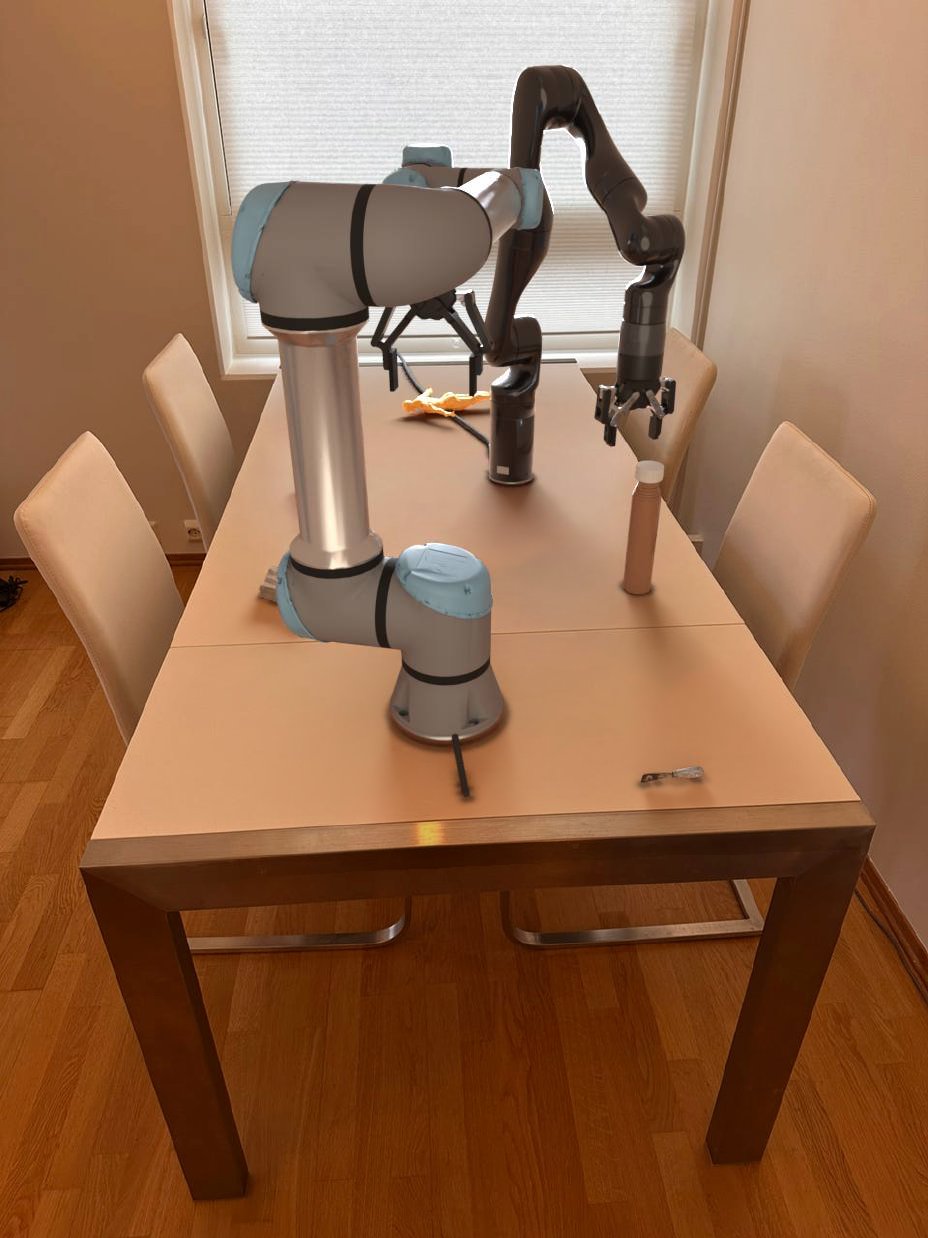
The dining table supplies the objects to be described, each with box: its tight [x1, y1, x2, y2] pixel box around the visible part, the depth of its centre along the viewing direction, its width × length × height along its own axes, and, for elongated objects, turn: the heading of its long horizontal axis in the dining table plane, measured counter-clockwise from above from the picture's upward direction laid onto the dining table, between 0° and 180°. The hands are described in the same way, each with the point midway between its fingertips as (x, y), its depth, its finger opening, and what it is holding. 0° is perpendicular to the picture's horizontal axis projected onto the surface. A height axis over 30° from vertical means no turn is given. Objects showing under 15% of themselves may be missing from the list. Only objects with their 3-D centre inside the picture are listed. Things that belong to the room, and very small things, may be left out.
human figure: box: [402, 385, 490, 418], centre depth 225 cm, size 20×20×4 cm
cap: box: [634, 460, 665, 484], centre depth 139 cm, size 4×4×2 cm
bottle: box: [622, 481, 662, 595], centre depth 144 cm, size 4×4×21 cm
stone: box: [258, 565, 278, 604], centre depth 147 cm, size 13×12×3 cm
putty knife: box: [640, 765, 705, 784], centre depth 109 cm, size 1×8×2 cm, turn 103°
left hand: (433, 391), depth 149 cm, fingers open, 13 cm apart
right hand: (631, 441), depth 155 cm, fingers open, 8 cm apart
